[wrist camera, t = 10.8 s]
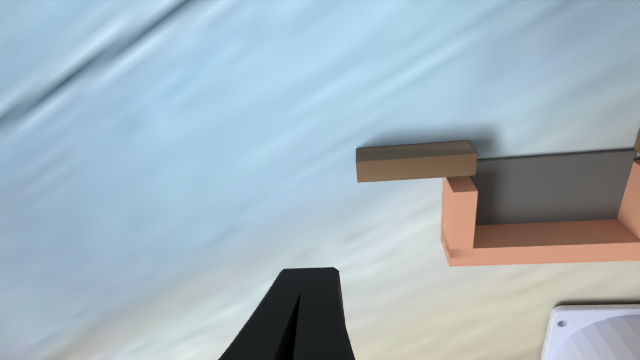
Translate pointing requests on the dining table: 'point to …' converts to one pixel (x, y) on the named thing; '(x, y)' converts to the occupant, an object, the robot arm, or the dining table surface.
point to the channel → (420, 161)
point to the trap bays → (544, 210)
